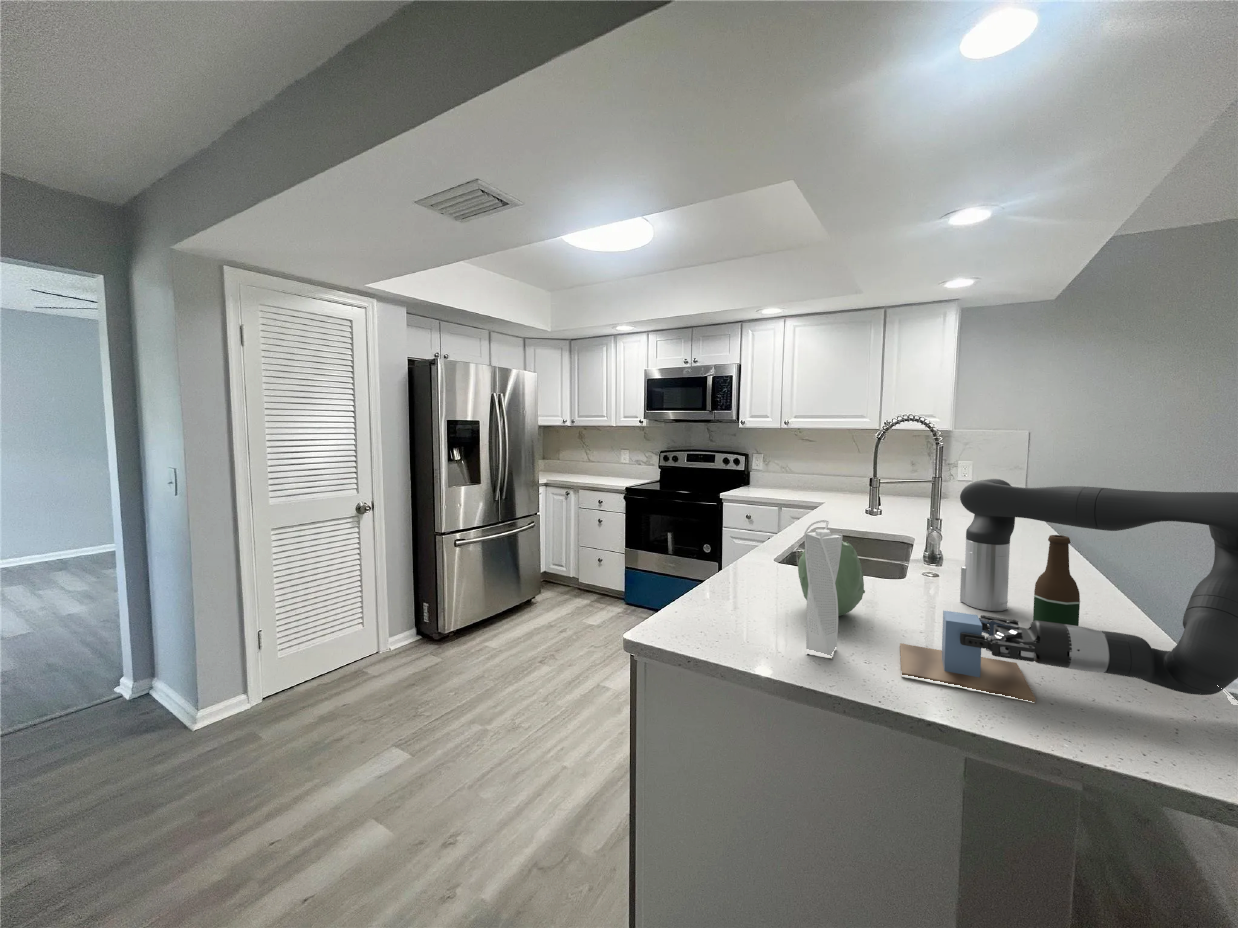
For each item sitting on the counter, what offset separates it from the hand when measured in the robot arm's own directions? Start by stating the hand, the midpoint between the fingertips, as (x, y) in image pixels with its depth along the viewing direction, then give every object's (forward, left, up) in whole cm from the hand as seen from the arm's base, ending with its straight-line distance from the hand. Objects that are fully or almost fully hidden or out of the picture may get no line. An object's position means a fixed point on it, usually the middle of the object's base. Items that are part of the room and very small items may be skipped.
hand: (957, 629), depth 96 cm
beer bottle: (+4, +29, -9) cm, 31 cm away
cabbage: (-32, +3, -9) cm, 34 cm away
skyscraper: (-18, -16, -9) cm, 26 cm away
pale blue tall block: (+1, 0, -8) cm, 8 cm away
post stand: (+1, 0, -9) cm, 9 cm away
